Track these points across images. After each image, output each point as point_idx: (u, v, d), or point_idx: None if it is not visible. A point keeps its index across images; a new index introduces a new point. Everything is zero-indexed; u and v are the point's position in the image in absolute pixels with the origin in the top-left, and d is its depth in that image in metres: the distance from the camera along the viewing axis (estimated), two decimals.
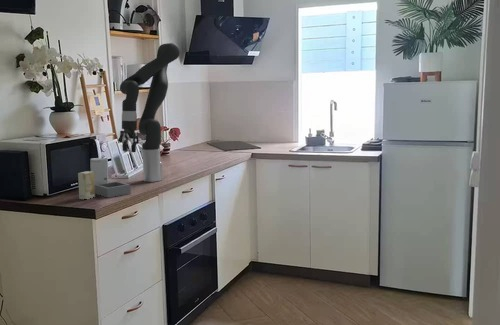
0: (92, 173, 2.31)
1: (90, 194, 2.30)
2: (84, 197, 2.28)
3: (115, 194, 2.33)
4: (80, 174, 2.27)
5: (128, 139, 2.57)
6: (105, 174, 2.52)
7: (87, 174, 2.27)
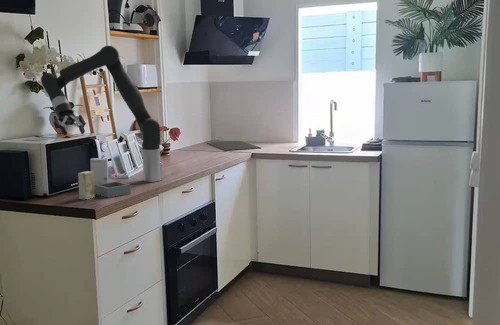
0: (92, 173, 2.31)
1: (90, 194, 2.30)
2: (84, 197, 2.28)
3: (115, 194, 2.33)
4: (80, 174, 2.27)
5: (67, 124, 2.36)
6: (105, 174, 2.52)
7: (87, 174, 2.27)
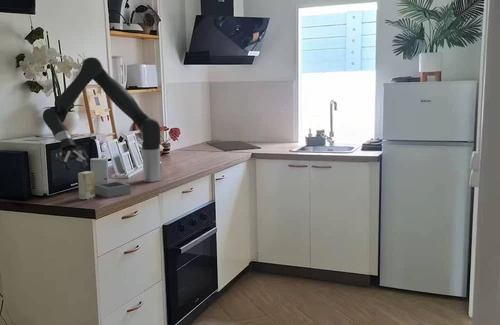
0: (92, 173, 2.31)
1: (90, 194, 2.30)
2: (84, 197, 2.28)
3: (115, 194, 2.33)
4: (80, 174, 2.27)
5: (70, 159, 2.37)
6: (105, 174, 2.52)
7: (87, 174, 2.27)
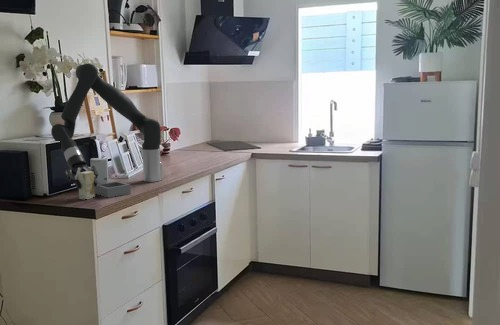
0: (92, 173, 2.31)
1: (90, 194, 2.30)
2: (84, 197, 2.28)
3: (115, 194, 2.33)
4: (80, 174, 2.27)
5: None
6: (105, 174, 2.52)
7: (87, 174, 2.27)
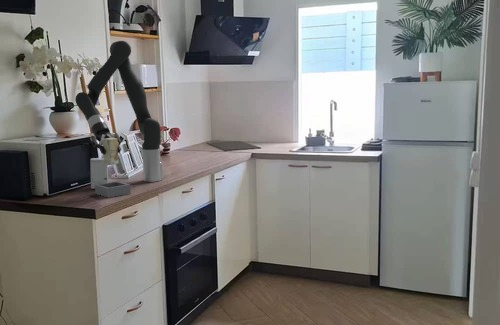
0: (116, 139, 2.36)
1: (114, 160, 2.36)
2: (108, 163, 2.34)
3: (115, 194, 2.33)
4: (104, 140, 2.33)
5: None
6: (105, 174, 2.52)
7: (111, 140, 2.33)
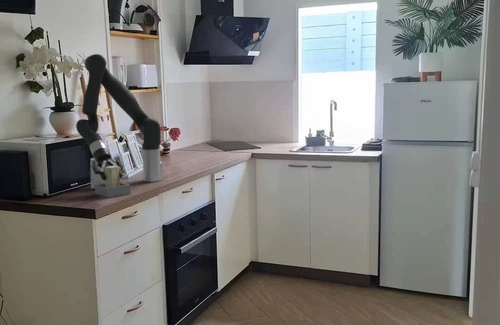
0: (117, 167, 2.39)
1: None
2: None
3: (115, 194, 2.33)
4: (106, 168, 2.35)
5: None
6: None
7: (113, 168, 2.35)
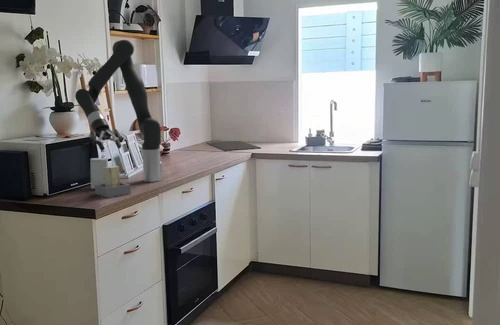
0: (117, 167, 2.39)
1: None
2: None
3: (115, 194, 2.33)
4: (106, 168, 2.35)
5: None
6: None
7: (113, 168, 2.35)
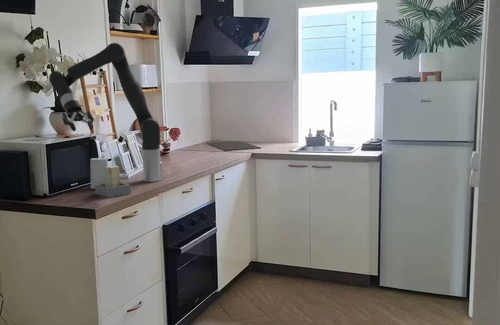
0: (117, 167, 2.39)
1: None
2: None
3: (115, 194, 2.33)
4: (106, 168, 2.35)
5: (76, 121, 2.41)
6: None
7: (113, 168, 2.35)
